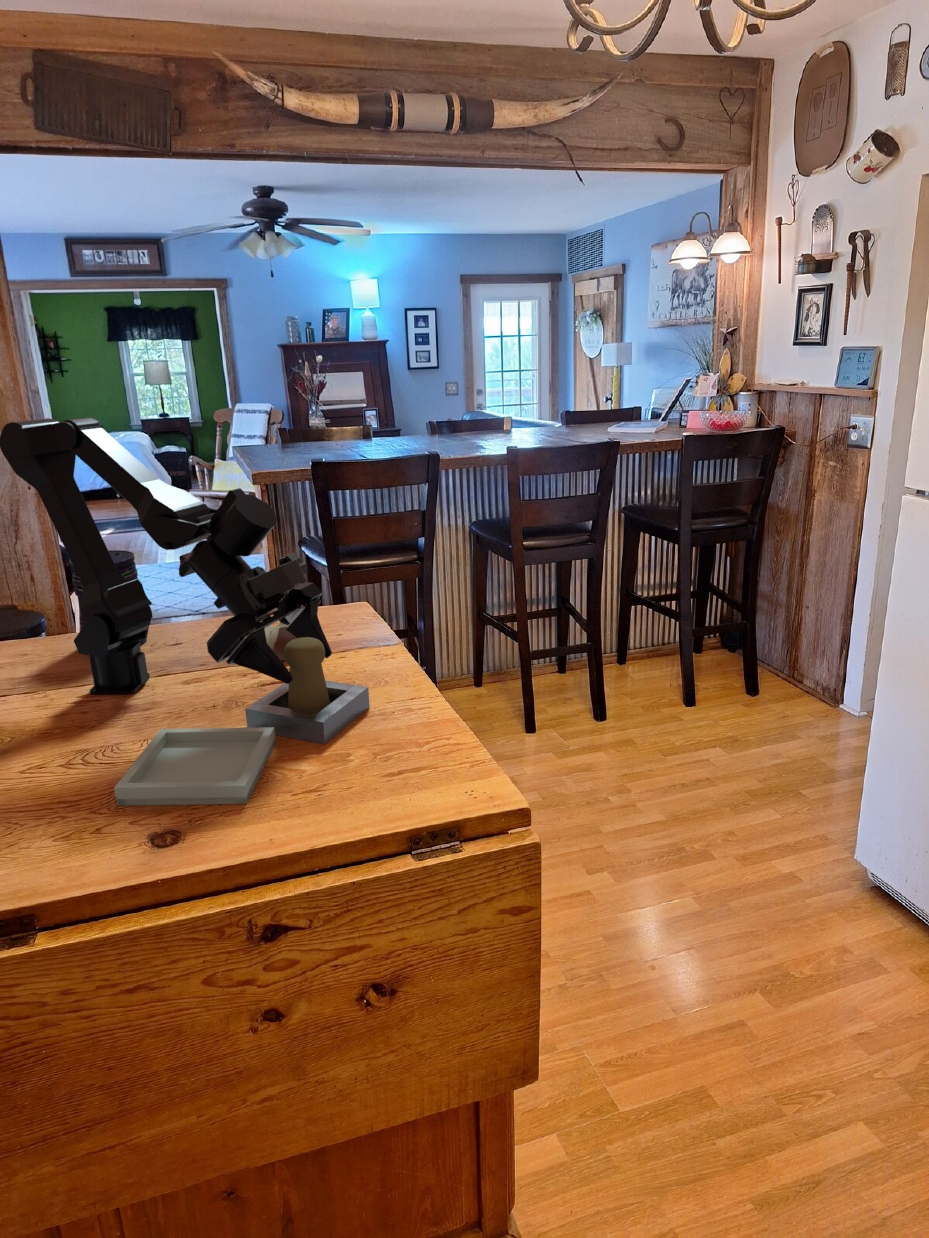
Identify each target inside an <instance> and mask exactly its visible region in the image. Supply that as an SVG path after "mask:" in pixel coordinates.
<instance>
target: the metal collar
mask: <svg viewBox="0 0 929 1238" xmlns="http://www.w3.org/2000/svg"><path fill="white" fill-rule="evenodd" d="M325 682H326V686H327V691H328V695H329V700H330V704H329V705H328V706H327V707H325V708H324V709H323V710H321V711H320V712H319V713H313V712H307V711H301V710H296V709H290V708H288V690H289V684H286V683H284V682H283V684H281V685H279V686H278V687H276V688H274V689H273V690H272V691H270V692H269V693H267V694H265V695H264V696H262V697H261V698H260V699H258V700H256V701H254V702H253V703H252V704H249V706H247V707H246V708H245V709H244V711H245V718H246V720H245V721H246V728H258V727H274V730H275V736H279V737H283V738H289V739H295V740H298V741H299V740H301V741H305V742H310V743H317V744H320V745H321V744H322V745H326V744H327V743H328V742H330V741H331V740H332V739H333V738H335V737H336V735H339V733H341V731H343V730H344V729H345V728H346V727H348V726H349V725H350V724H351V723H352V722H353V721H354V720H356V719H358V717H360V716H361V715H362V714H363V713H365V712H366V711H367V710H368V709H369V708H370V695H369V694H370V693H369V686H366V685H365V686H364V685H358V684H353V683H352V684H351V683H345V682H338V681H333V680H326V679H325Z"/></svg>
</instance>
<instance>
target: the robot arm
mask: <svg viewBox="0 0 929 1238" xmlns="http://www.w3.org/2000/svg"><path fill="white" fill-rule="evenodd" d="M0 451H1V453H2V454H3V456H4V458H5V460H6V461H7V462H8V465H10V467H11V469H12V470H13V472H14V473H15V475H17V476H18V477H19V478H21V480H23V481H25V482H26V483H27V484H28V485H29V486H31V487H33V488H34V489H35V490H36V492H37V494H38V495H39V497H40V499H41V501H42V503H43V506H44V507H45V510H46V512H47V513H48V516H49V518H50V520H51V522H52V524H53V527H54V528H55V531H56V533H57V535H58V537H59V539H60V541H61V542H62V545H63V547H64V550H65V551H66V553H67V555H68V557H69V561H70V560H71V562H72V564H73V566H74V568H75V570H76V572H77V574H78V576H79V578H80V580H81V582H82V585H83V595H82V605H81V609H82V613H83V615H84V618H85V621H86V624H85V625H84V627H83V628H82V629H81V628H80V630H79V632H78V633H77V635H76V636H75V638H74V640H73V643H74V644H75V647H76V650H77V652H78V654H79V655H84V656H88V658H89V664H90V669H91V676H92V680H93V686H92V687H91V688H90V689H89V690H88V692H89V694H90V695H100V694H101V695H109V694H112V695H113V694H118V695H119V694H134V693H136V692H137V691H138V690H139V689H140V688H141V687H142V685H144V683H146V682H147V680H149V679H150V677H151V675H150V673H149V672H148V667H147V660H146V654H145V652H144V651H142V650H141V647H140V642H138V641H140V640H142V639H146V638H147V639H148V635H149V634H148V633H149V627H150V625H151V623H152V622H151V621H152V619H153V612H152V608H151V606H152V604H153V603H152V601H151V600H150V599H149V598H148V596H147V594H146V591H145V588H144V586H143V583H142V582H141V581H140V580H139V578H138V579H135V580H132V581H129V580H128V579H127V578H125V577H124V576H123V575H121V574H120V573H119V572H118V570H117V568H116V566H115V564H114V562H113V559H112V557H111V555H110V553H109V551H110V550H109V549H108V547H107V545H106V543H105V540H104V539H103V536H102V535H101V532H100V529H99V528H98V526H97V524H96V521H95V519H94V518H93V515H92V514H91V511H90V508H89V507H88V505H87V503H86V500H85V499H84V496H83V494H82V492H81V490H80V488H79V486H78V483H77V481H76V480H75V467H76V460H77V459H76V457H78V459H79V460H81V461H82V462H83V463H84V464H85V465H87V466H88V467H89V469H91V470H92V471H93V472H94V473H95V474H96V475H98V476H99V477H100V478H101V479H102V480H103V481H104V482H106V483H107V485H108V486H110V487H111V488H112V489H113V490H114V491H115V492H117V493H118V495H120V496H121V497H122V498H123V499H125V501H127V502H128V503H129V504H130V505H131V506H132V507H133V509H135V511H136V512H137V516H138V520H139V523H140V526H141V527H142V529H143V530H145V532H146V533H147V534H148V535H149V537H150V538H151V539H152V540H153V542H154V543H155V544H156V545H157V546H158V547H160V548H162V549H163V550H166V551H172V550H178V549H182V548H184V547H187V546H190V545H193V544H195V545H194V547H193V548H192V550H191V551H190V552H187V553H185V554H181V555H179V556H178V559H179V567H178V576H179V577H181V578H184V577H187V576H190V575H192V574H194V573H195V574H196V575H197V576H198V577H199V579H200V580H201V581H202V582H203V583H204V585H206V587H208V588H209V590H210V591H211V592H212V593H213V594H214V595H215V597H216V599H215V601H214V602H213V605H214V606H215V607H216V608H217V609H218V610H220V609H221V608H224V607H225V608H226V609H227V610H228V611H229V612H230V613H231V614H232V615H233V616H232V617H229V618H227V619H225V620H224V621H223V622H222V623H221V624H220V626H219V627H218V628H217V629H216V631H215V632H214V633H213V634H212V635H211V637H210V638H209V639H208V640H207V641H206V646H207V653H208V654H209V656H210V657H211V658H212V659H213V660H214V661H215V662H216V664H220V663H222V662H224V661H225V660H226V661H225V663H227V665H231V664H234V665H238V666H241V667H243V668H247V669H249V670H252V671H255V672H258V673H260V674H263V675H266V676H267V677H269V678H272V679H275V680H277V681H279V682H282V683H283V684H284V683H286V684H289V683H290V682H291V681H292V680H293V676H292V675H291V673H290V672H289V669H288V668H287V666H286V665H285V663H284V662H283V660H280V659H279V658H278V656H277V655H276V654H275V653H274V651H273V650H272V649H271V648H270V647H269V645H268V644H267V640H266V635H265V629H264V628H265V627H267V626H269V625H273V624H275V623H278V621H279V623H280V622H281V623H283V624H285V625H289V624H290V625H289V627H288V628H287V629H286V630H287V631H288V632H290V633H291V634H292V635H294V636H295V637H296V638H303V637H311V638H316V639H318V640H320V641H321V642H322V644H323V646H324V649H325V658H324V659H328V658H329V657H331V656H332V653H333V651H332V649H331V646H330V644H329V642H328V640H327V637H326V635H325V632H324V630H323V628H322V626H321V623H320V620H319V617H318V611H319V610H318V609H319V605H320V604H321V596H323V592H322V591H321V589H319V587H318V586H317V585H316V583H314V582H308V579H307V578H306V574H307V573H308V564H307V563H306V562H305V561H304V560H303V559H302V558H301V557H300V556H299V555H298V554H296V552H292V553H289V554H287V555H286V556H284V557H281V558H279V559H278V562H279V563H278V564H279V566H277V567H275V568H273V569H271V570H268V571H266V569H264V567H262V566H256V567H253V568H252V566H250V565H249V564H248V563H247V561H246V560H245V559H244V558H243V557H249V556H252V554H254V552H255V551H256V550H257V549H258V548H259V546H260V545H261V543H263V541H264V540H265V539H266V538H267V536H268V535H269V533H271V532H272V530H273V529H274V528H275V526H277V525H276V524H277V523H278V518H277V515H276V512H275V511H274V509H273V508H272V507H271V506H270V504H269V503H268V502H265V501H263V500H262V499H261V498H258V497H256V496H254V495H251V494H247V493H246V492H244V490H243V489H242V488H241V487H238V488H236V489H229V490H228V492H227V493H226V494H225V496H224V498H223V501H222V503H221V504H220V506H219V507H218V509H217V508H212V507H209V506H208V505H207V504H206V503H205V502H204V501H203V500H201V499H199V497H196V496H195V495H193V494H191V493H189V492H188V491H187V490H185V489H182V488H178V487H176V486H173V485H172V484H171V485H170V484H168V483H166V482H165V481H164V480H163V481H162V479H160V478H159V477H158V476H157V475H156V474H154V473H153V472H152V471H151V470H150V469H149V468H148V467H146V466H145V465H144V464H143V463H142V462H141V461H140V460H138V459H137V458H136V457H135V456H134V455H133V454H132V453H131V452H129V451H128V450H127V449H126V447H124V446H123V445H121V444H120V443H119V442H118V441H117V440H116V439H115V438H113V437H112V436H111V435H110V434H109V433H108V432H107V431H106V430H105V428H104V426H103V425H102V423H101V422H100V421H99V420H97V419H94V418H93V417H80V418H69V419H65V420H63V421H61V422H60V421H57V420H55V418H39V419H30V420H28V419H27V420H18V421H11V422H8V423H6V424H5V425H4V426H3V428H2V430H1V433H0Z"/></svg>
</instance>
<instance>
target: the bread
mask: <svg viewBox="0 0 929 1238" xmlns="http://www.w3.org/2000/svg"><path fill="white" fill-rule="evenodd" d="M289 625H290V624H289ZM289 625H285V624H283V623H281V622H280V621H279V623H278V624H276V626H273V624H271V625H269V626H267V627H265V628H264V629H265V635H266V640H267V644H268V645H269V647H270V648H271V649H272V650H273V651H274V653H275V654H276V655H277V656H278V658H279V659H280V660H281V661H285V658H284V648H285V646H286V644H287V643H288V642H290V641H291V640H294V639H297V638H296V637H295V636H294V635H292V634H291V633H290V632H288V631H287V630H286V629H287V628H288V627H289Z"/></svg>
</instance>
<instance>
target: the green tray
mask: <svg viewBox="0 0 929 1238" xmlns="http://www.w3.org/2000/svg"><path fill="white" fill-rule="evenodd" d="M276 744H277V743H276V735H275V730H274V727H258V728H247V727H215V728H214V727H212V728H211V727H210V728H209V727H207V728H204V727H203V728H160V729H159V730H158V732H157V733H156V735H155V736H154V737H153V738H152V739H151V740H150V742H149V743H148V745H147V746H145V748H144V750H142V752H141V753H140V755H139V756H138V757H137V758H136V759H135V761H134V762H133V763H132V765H130V767H129V769H127V771H126V772H125V773H124V774H123V775H122V777H121V778H120V780H118V782H117V783H116V784H115V786H114V787H113V789H114V795H115V801H116V806H118V807H119V806H120V807H122V806H124V807H126V806H130V807H131V806H177V805H178V806H187V805H193V806H194V805H246V804H248V802H249V801H250V798H251V796H252V794H253V792H254V790H255V788H256V785H257V784H258V781H259V779H260V777H261V776H262V773H263V770H264V769H265V767H266V765H267V762H268V760H269V759H270V756H271V754H272V752H273V750H274V748H275V746H276Z"/></svg>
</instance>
